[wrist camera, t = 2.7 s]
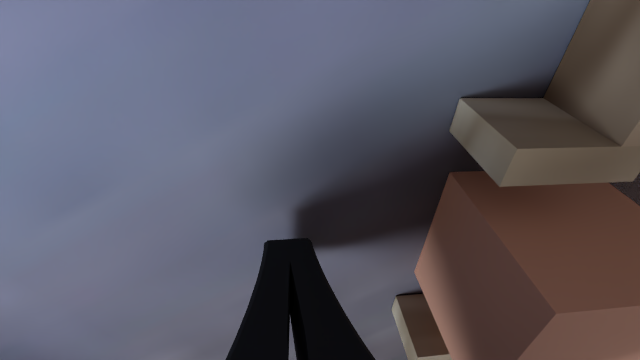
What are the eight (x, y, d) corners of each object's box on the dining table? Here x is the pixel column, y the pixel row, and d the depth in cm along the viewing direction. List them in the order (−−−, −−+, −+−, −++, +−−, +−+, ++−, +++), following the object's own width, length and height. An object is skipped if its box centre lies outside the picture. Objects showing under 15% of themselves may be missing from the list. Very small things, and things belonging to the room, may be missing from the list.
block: (524, 262, 14) (622, 389, 10) (413, 270, 14) (473, 410, 10) (586, 166, 11) (758, 294, 7) (448, 170, 11) (555, 313, 7)
